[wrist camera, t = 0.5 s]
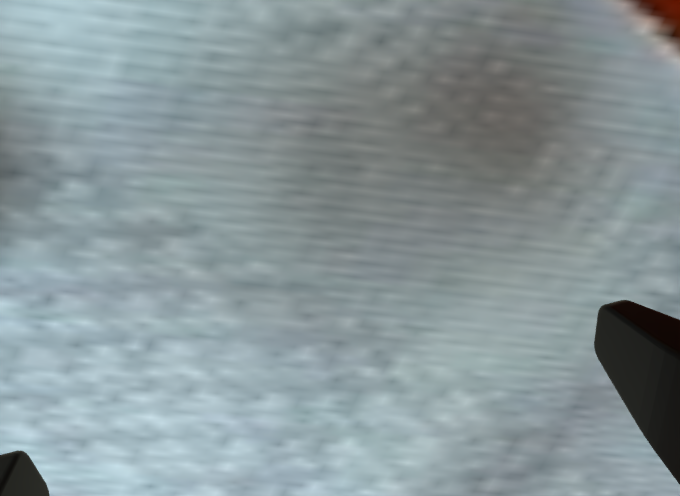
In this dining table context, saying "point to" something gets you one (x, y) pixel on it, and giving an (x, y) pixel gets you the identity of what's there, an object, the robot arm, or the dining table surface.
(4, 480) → the robot arm
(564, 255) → the dining table surface
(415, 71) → the dining table surface
